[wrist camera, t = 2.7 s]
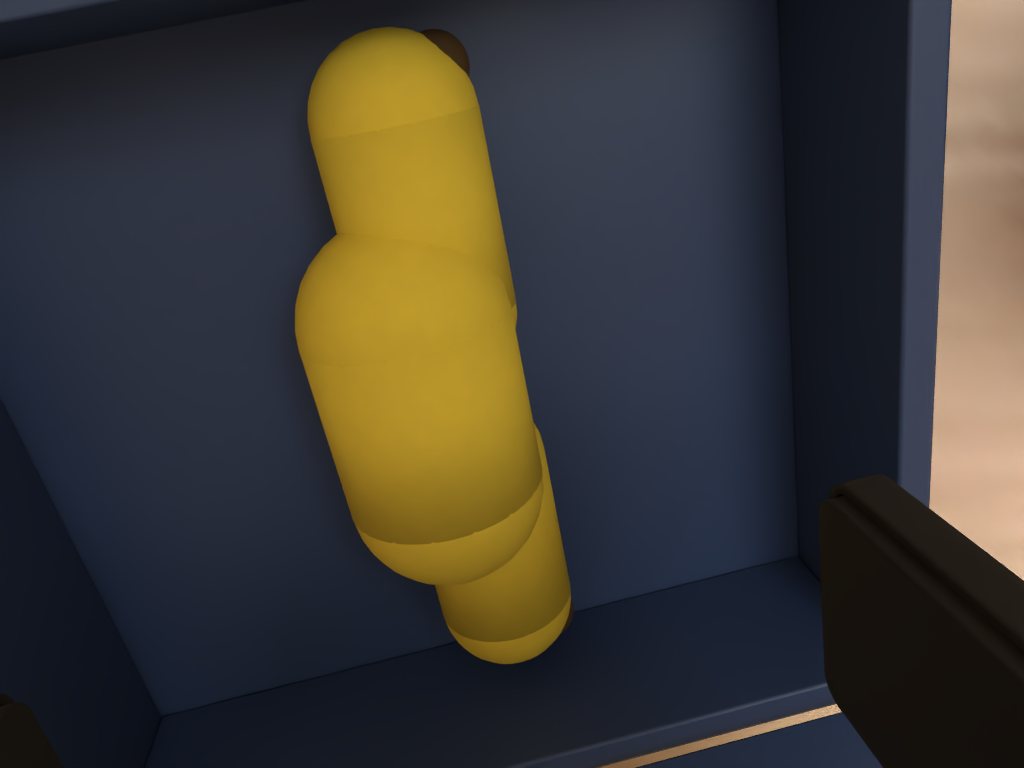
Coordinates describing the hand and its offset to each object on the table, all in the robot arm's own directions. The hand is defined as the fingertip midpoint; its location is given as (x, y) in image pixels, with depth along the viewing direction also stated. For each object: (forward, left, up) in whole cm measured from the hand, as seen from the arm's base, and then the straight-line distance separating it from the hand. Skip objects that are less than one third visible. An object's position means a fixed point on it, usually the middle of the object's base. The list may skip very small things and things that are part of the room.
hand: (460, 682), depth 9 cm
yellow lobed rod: (-1, 0, -9) cm, 9 cm away
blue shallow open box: (-1, 0, -9) cm, 9 cm away
